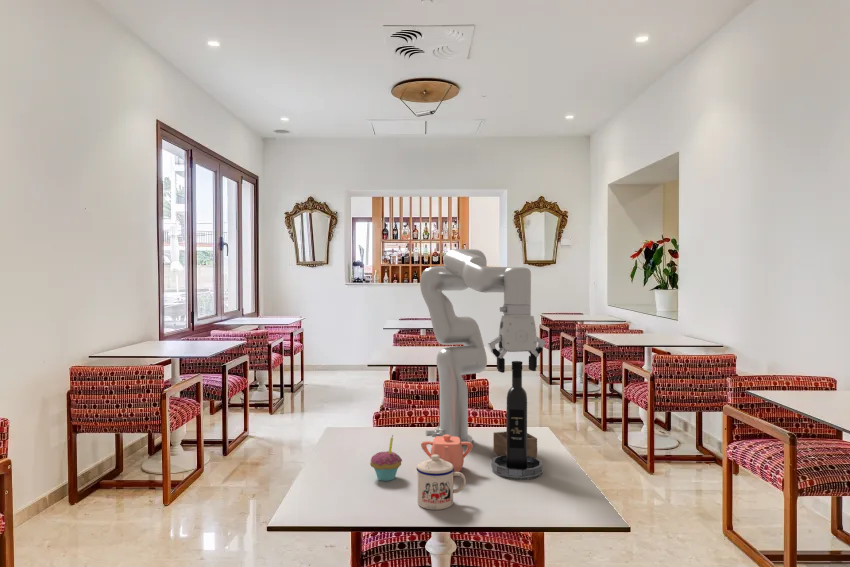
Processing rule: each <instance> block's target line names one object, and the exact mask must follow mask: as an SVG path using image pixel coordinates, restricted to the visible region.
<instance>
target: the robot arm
mask: <svg viewBox="0 0 850 567" xmlns="http://www.w3.org/2000/svg"><path fill="white" fill-rule="evenodd" d="M442 261H443V265H444V266H442V265H440V266H439V265H438V266H437V265H436V266H430V267H428V268H426V269H424V270H423V271H422V273H421V275H420V280H419V282H420V283H419V287H420V292H421V295H422V297H423V300H424V302H425V304H426V306H427V308H428V309H427V310H428V313H429V316H430V320H431V325H432V326H431V327H432V328H433V330H432V331H433V333H434V337H435V339H436V342H437V343H438V344H440V345H446V346H447V345H448V346H449V347H444V348H442V349H441V350H440V351H439V352H438V353H437V355H436V367H437V374H438V382H439V426H438V425H437V426H436V428H434V429H429V430H425V436H426V437H431V438H435V437H436V436H443V435H446V434H448V435H451V436H454V437H459V438H460V441H461V442H471V443H472V442H473V436H472V435H470V434H469V433H468V432H469V426H468V424H469V422H468V421H469V419H468V418H469V413H468V412H469V410H468V409H469V406H468V405H469V395H468V394H469V392H468V391H469V390H468V385H467V383H466V382H465V380H464V378H463V376H464V375H472V374H473V375H474V374H480V373H482V372H484V371H485V370H486V368H487V363H488V356H487V352H486V349H485V344H484V340H483V337H482V334H481V329H480V327H479V325H478V324H479V323H477V321H476V320H475V319H474V318H472V316H471V317H470V316H457V315H456V313H455V310H454V306H453V304H452V302H451V300H450V298H449V297H448V296H446V294H445V293H443V291H445V292H446V291H450V292H451V291H465V290H467V289H469V288H470V289H472V290H474V291H476V292H479V293H503V304H502V306H501V307H500V306H499V312H501V313H503V315H501V318H500V324H499V330H498V336H496V337H495V338H493V339H492V340H489V341H488V342H487V345H488V347H489V349H490V351H491V353H492V354H493V355H494V357H495V358H496V370H497V372H499V373H501V374H502V373H505V372H506V370H505V369H506V368H505V367H506V365H505V363H506V360H505V358H504V356H505V355H506V354H507V352H508V353H509V352H510V353H512V352H513V353H519V352H521V353H522V352H528V353H529V356H528V370H529V371H532V372H536V371H537V368H538V366H537V365H538V364H537V363H538V357H539V355H540V354H541V353H542V351H543V349H544V347H545V344H546V341H545V340H544V339H542V338H540V337H538V336H537V327H536V321H535V317H534V315H532V313H531V310H532V308H531V307H532V304H531V303H532V297H531V296H532V274H531V273H532V272H531V269H530V268H528V267H517V266H515V267H512V266H487V264H488V263H487V257H486V255H485V254H484V252H482V251H481V250H479V249H472V248H471V249H469V248H468V249H467V248H456V249H451V250H449V251H448V252H447V253H446V254H445V255H444V257H443V260H442ZM497 344H498V347H499V349H497V347H496V345H497ZM451 345H459V346H451Z"/></svg>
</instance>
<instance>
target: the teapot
mask: <svg viewBox="0 0 850 567" xmlns="http://www.w3.org/2000/svg"><path fill="white" fill-rule="evenodd" d="M428 445H431V449H430V451H429V449H428V447H427V446H428ZM420 446H421V449H422V450H423V452H424V453H425V454H426V455H427V457H429V459H431V456H432V455H434V454H436V455H439V458H440V459H442V460H444V461H447V462H450V463H451V464H452V465H453V467H454V471H453V472H461V471H462V469H463V466H464V462H465V461H464V459H465V457H467V456H468V454H470V452H471V451H472V450H473V447H474V444H473V443H472V442H461V441H460V438H459V437H454V436H451V435H448V434H446V435H443V436H436V437H433V441H431V440H429V441H428V440H425V441H422V442H421V444H420ZM463 446H467V448H466V449H465V452H464V450H463Z"/></svg>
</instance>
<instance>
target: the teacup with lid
mask: <svg viewBox="0 0 850 567" xmlns="http://www.w3.org/2000/svg"><path fill="white" fill-rule="evenodd" d="M416 471H417V504H418V505H419V507H421V508H423V509H426V510H431V511H433V510H435V511H436V510H437V511H438V510H444V509H448V508H450V507H451V506H452V505H453V504H454V494H458V493H460V492H462V491H463V490H464V488H465V486H466V483H467V482H466V481H467V480H466V477H465V474H464V473H462V472H461V471H459V472H453V471H454V467H453V465H452V464H451V463H450V462H447V461H444V460H442V459H440V458H439V455H436V454H434V455H432V456H431V459H430V458H428V459H426V460H423V461H421V462H420V463H418V464H417V466H416ZM455 476H456V477H457V476H459V477H461V478H462V482H461V484H460V486H459V487H457V488H454V477H455Z"/></svg>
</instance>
